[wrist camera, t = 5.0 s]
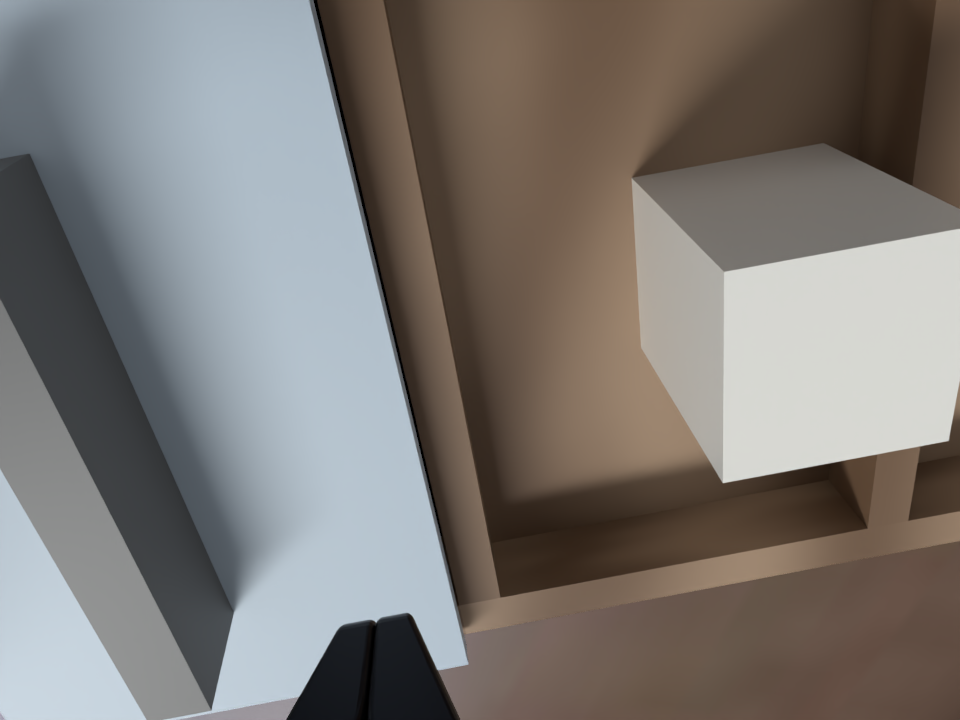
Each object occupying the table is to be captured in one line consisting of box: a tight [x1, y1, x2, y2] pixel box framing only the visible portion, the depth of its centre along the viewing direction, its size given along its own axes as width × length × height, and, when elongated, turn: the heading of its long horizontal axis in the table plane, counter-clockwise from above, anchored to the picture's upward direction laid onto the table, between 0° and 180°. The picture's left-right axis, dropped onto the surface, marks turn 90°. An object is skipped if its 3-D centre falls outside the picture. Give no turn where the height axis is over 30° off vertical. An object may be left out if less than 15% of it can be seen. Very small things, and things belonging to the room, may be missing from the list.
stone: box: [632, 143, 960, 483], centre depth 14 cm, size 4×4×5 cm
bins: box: [317, 0, 960, 634], centre depth 16 cm, size 32×16×2 cm, turn 99°
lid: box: [0, 0, 468, 720], centre depth 13 cm, size 10×16×3 cm, turn 9°
